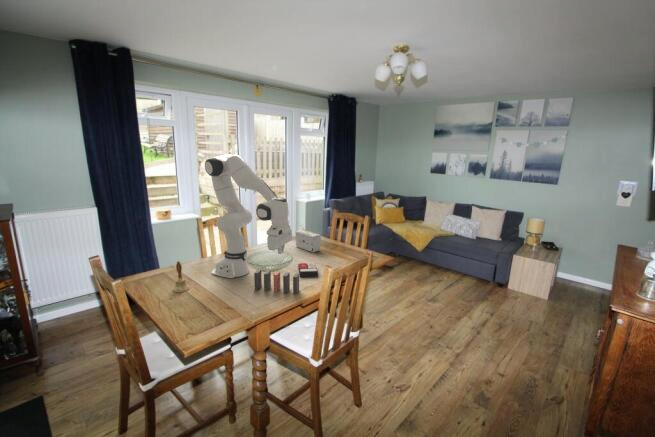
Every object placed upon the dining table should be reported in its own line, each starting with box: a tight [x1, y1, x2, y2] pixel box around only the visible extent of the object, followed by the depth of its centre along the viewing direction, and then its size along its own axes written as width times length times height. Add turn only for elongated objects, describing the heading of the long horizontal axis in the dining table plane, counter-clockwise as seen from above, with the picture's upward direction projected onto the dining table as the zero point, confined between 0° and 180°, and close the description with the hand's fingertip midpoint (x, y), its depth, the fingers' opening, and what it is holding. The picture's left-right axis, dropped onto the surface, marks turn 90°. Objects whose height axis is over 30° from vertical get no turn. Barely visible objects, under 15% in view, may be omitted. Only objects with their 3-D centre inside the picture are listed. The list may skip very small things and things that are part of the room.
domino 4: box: [282, 271, 291, 294], centre depth 168 cm, size 2×5×10 cm, turn 169°
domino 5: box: [292, 272, 300, 295], centre depth 167 cm, size 2×5×10 cm, turn 169°
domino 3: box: [273, 271, 281, 293], centre depth 169 cm, size 2×5×10 cm, turn 169°
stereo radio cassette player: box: [295, 222, 322, 253], centre depth 236 cm, size 21×8×20 cm, turn 48°
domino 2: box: [263, 269, 272, 292], centre depth 170 cm, size 2×5×10 cm, turn 169°
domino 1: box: [253, 269, 263, 291], centre depth 171 cm, size 2×5×10 cm, turn 169°
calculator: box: [297, 262, 319, 278], centre depth 195 cm, size 11×4×15 cm
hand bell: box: [172, 260, 191, 293], centre depth 167 cm, size 8×8×16 cm
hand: (281, 253), depth 164 cm, fingers closed
